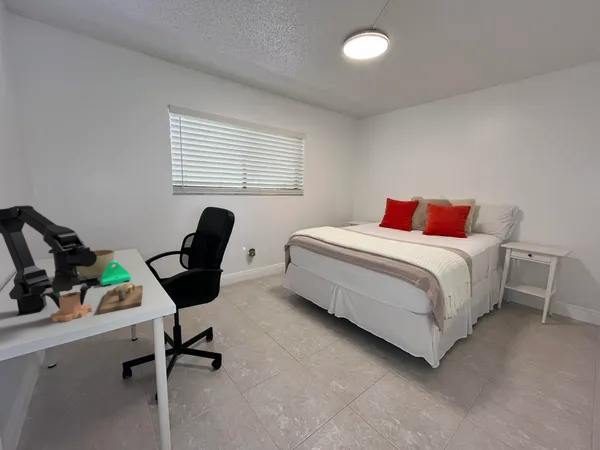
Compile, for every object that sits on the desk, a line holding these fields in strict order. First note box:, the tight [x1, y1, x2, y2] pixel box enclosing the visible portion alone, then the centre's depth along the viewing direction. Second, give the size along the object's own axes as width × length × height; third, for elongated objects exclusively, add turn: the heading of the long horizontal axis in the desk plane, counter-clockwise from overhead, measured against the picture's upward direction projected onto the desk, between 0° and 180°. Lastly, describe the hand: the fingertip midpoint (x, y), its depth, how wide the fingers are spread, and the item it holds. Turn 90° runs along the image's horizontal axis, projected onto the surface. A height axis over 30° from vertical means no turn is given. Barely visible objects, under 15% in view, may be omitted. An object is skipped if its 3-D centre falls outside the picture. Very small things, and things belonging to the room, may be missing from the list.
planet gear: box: [50, 291, 93, 323], centre depth 91 cm, size 11×11×8 cm
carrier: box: [98, 283, 144, 315], centre depth 104 cm, size 13×21×6 cm, turn 31°
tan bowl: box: [77, 249, 115, 279], centre depth 134 cm, size 18×18×12 cm
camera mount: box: [100, 260, 132, 286], centre depth 124 cm, size 12×8×10 cm, turn 133°
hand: (71, 306), depth 91 cm, fingers closed on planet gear, 6 cm apart
